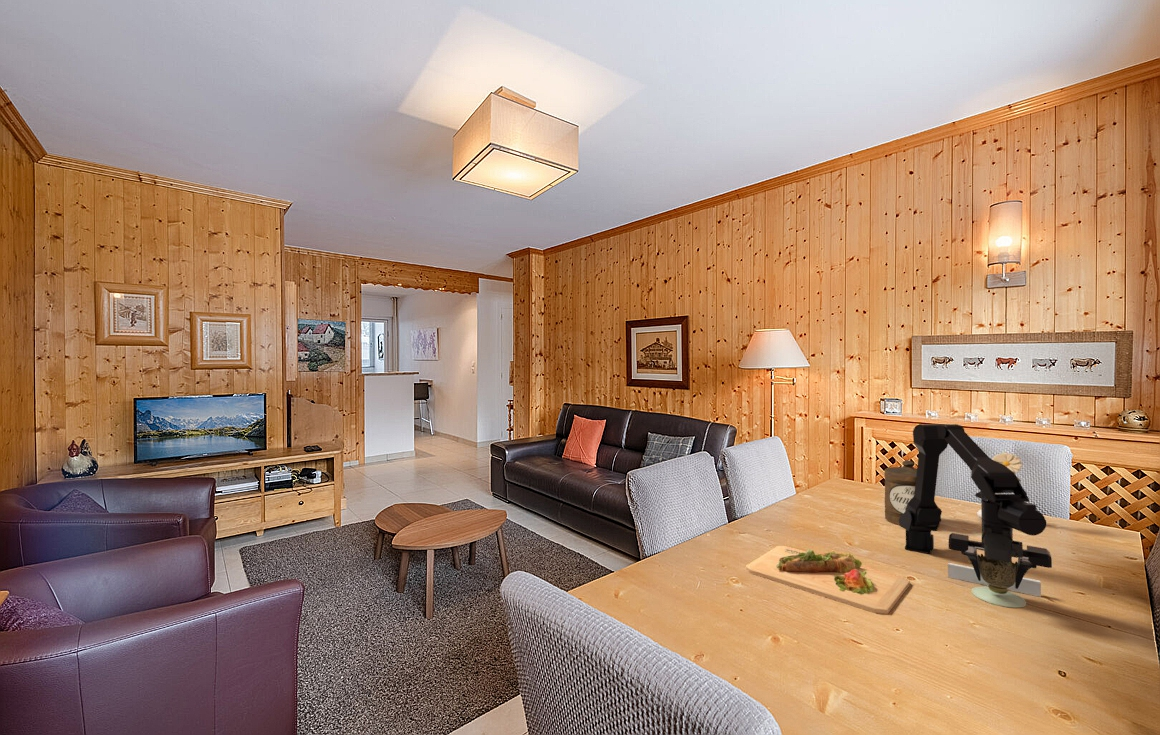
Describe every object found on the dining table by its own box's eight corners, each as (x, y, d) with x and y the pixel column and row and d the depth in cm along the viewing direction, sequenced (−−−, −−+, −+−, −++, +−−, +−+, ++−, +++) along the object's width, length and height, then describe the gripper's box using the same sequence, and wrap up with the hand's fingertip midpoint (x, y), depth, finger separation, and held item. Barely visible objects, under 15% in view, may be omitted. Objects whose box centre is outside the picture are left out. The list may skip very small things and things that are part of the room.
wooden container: (892, 526, 168) (891, 464, 168) (879, 513, 182) (878, 455, 182) (942, 530, 163) (941, 465, 163) (925, 516, 178) (924, 457, 177)
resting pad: (971, 599, 117) (971, 598, 117) (972, 584, 124) (972, 583, 124) (1027, 612, 110) (1027, 610, 110) (1024, 595, 118) (1024, 594, 118)
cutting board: (911, 585, 126) (910, 556, 126) (885, 619, 110) (885, 586, 110) (779, 549, 151) (779, 526, 151) (743, 573, 135) (742, 546, 135)
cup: (1026, 600, 113) (1025, 566, 113) (990, 597, 114) (989, 564, 114) (1005, 585, 120) (1004, 553, 120) (971, 583, 122) (971, 552, 122)
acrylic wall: (948, 577, 129) (947, 564, 129) (948, 575, 129) (948, 562, 129) (1041, 596, 117) (1040, 582, 117) (1040, 594, 118) (1040, 580, 118)
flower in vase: (969, 519, 173) (968, 450, 173) (987, 514, 178) (986, 447, 178) (1014, 530, 161) (1013, 456, 161) (1032, 525, 166) (1031, 452, 166)
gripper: (946, 522, 117) (947, 585, 117) (1054, 538, 105) (1055, 609, 105) (949, 510, 125) (950, 569, 126) (1048, 524, 114) (1049, 590, 114)
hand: (997, 584), depth 117 cm, fingers closed on cup, 6 cm apart
